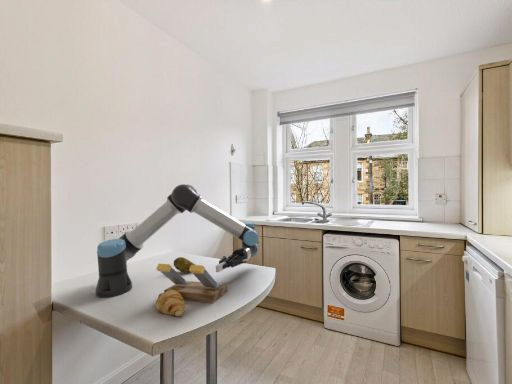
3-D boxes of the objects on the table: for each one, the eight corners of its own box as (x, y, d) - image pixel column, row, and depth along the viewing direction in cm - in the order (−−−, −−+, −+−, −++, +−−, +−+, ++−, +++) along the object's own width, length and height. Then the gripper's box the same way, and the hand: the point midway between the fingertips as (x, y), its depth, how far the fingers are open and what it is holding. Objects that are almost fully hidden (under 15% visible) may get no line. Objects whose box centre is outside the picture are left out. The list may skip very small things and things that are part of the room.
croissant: (189, 325, 94) (198, 302, 96) (164, 321, 88) (174, 297, 90) (167, 305, 110) (175, 286, 113) (144, 301, 105) (153, 281, 107)
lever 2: (206, 283, 112) (190, 264, 102) (219, 284, 110) (204, 265, 100) (204, 288, 111) (187, 270, 101) (218, 289, 108) (201, 271, 98)
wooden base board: (182, 286, 123) (182, 279, 123) (227, 291, 114) (227, 284, 114) (164, 297, 112) (164, 289, 112) (213, 303, 103) (212, 294, 103)
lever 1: (176, 280, 118) (157, 263, 108) (188, 281, 116) (170, 264, 106) (174, 285, 117) (155, 268, 107) (186, 286, 115) (167, 269, 104)
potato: (185, 276, 139) (184, 261, 139) (171, 272, 147) (170, 258, 147) (198, 271, 146) (197, 257, 146) (184, 268, 154) (183, 254, 154)
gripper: (253, 263, 133) (231, 278, 112) (230, 261, 138) (205, 276, 117) (252, 248, 133) (229, 261, 112) (229, 247, 138) (204, 259, 117)
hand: (217, 269), depth 114 cm, fingers closed
